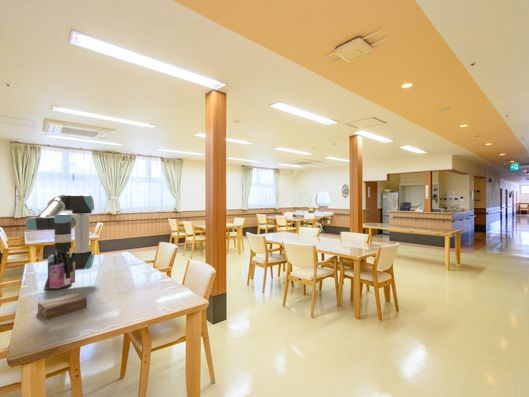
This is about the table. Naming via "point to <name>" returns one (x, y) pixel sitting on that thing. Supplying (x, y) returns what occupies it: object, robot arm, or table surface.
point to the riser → (62, 305)
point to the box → (60, 275)
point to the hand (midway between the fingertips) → (62, 283)
